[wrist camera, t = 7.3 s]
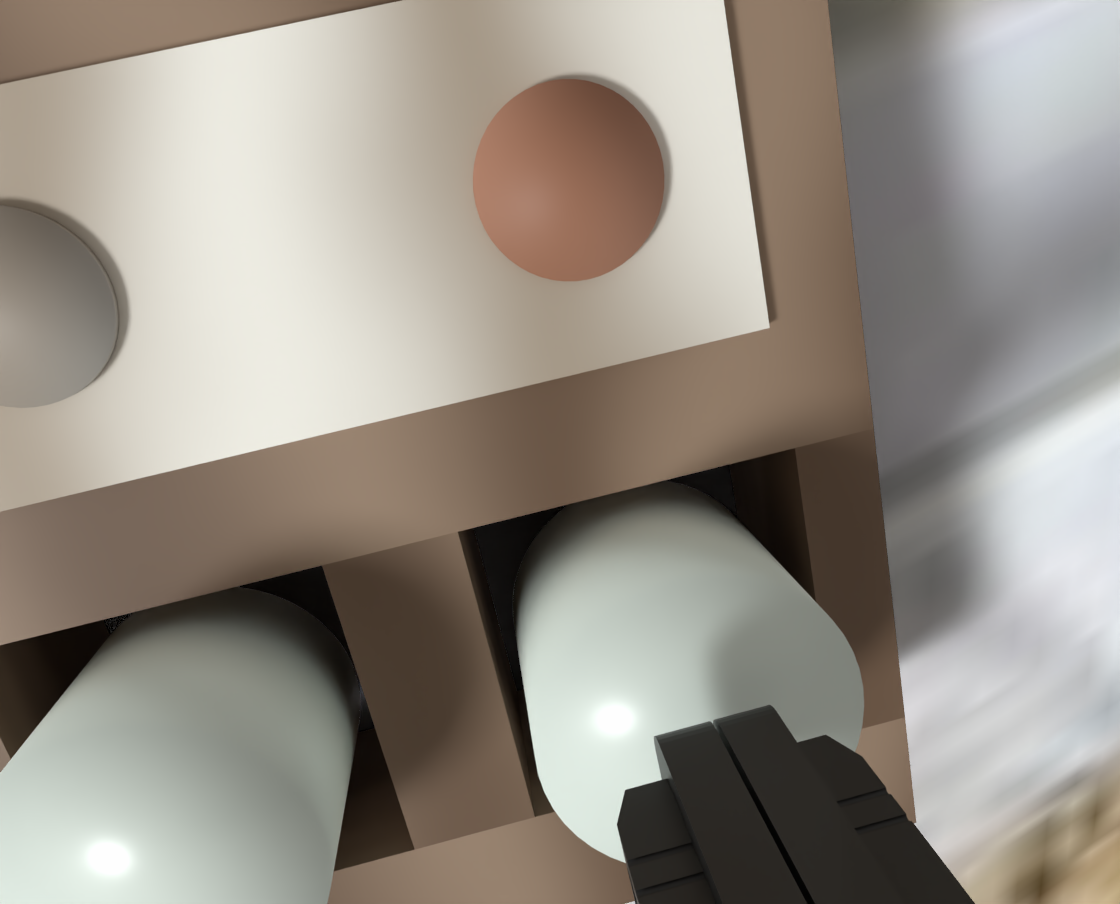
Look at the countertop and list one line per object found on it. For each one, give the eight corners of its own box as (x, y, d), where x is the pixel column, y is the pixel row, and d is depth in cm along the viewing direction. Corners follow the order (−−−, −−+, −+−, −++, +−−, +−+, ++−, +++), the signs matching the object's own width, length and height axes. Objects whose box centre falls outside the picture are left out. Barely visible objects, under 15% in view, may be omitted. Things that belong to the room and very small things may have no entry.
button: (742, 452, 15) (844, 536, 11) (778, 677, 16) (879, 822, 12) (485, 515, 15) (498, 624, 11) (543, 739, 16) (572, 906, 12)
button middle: (318, 556, 14) (269, 682, 11) (390, 779, 16) (372, 963, 12) (44, 624, 14) (-106, 779, 10) (142, 845, 15) (42, 1054, 12)
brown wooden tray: (715, -78, 15) (819, -191, 11) (824, 702, 19) (926, 836, 15) (-686, 213, 13) (-1198, 215, 9) (-205, 977, 18) (-400, 1206, 14)
